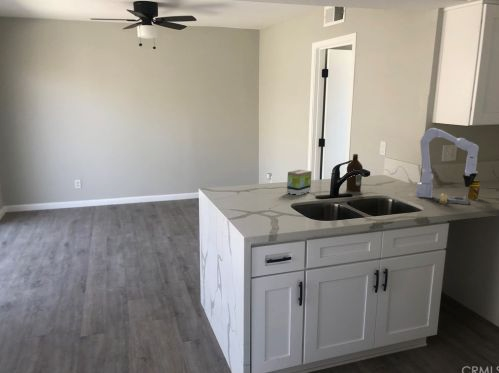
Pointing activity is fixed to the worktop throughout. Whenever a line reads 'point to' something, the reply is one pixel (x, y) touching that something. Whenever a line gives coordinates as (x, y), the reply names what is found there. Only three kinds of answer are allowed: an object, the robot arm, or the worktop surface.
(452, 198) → the jig
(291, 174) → the tea box
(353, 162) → the olive oil
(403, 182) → the worktop surface
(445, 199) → the bushing
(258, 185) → the worktop surface
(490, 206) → the worktop surface
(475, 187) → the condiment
